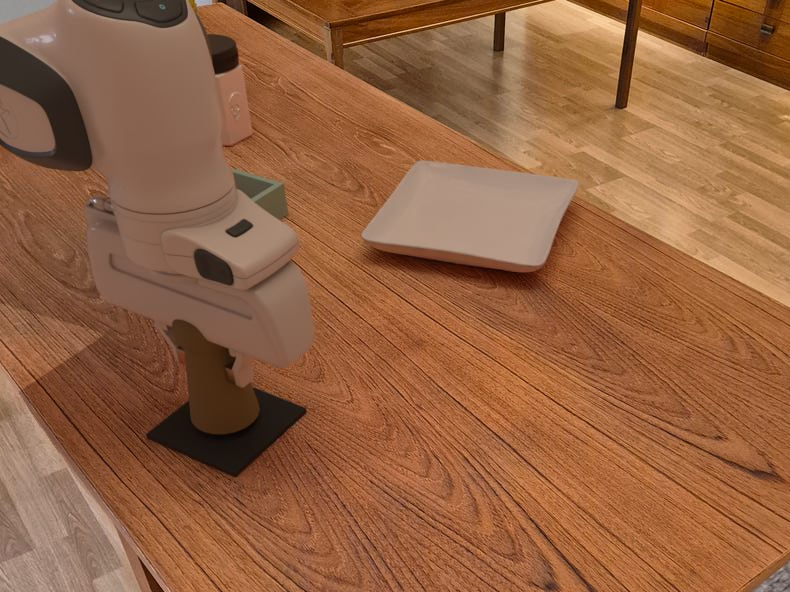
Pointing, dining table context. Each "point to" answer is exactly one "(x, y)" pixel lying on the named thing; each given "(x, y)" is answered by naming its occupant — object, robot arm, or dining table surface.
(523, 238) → the plate
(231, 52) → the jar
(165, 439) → the mat
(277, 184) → the square frame
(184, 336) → the brown pawn
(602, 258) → the dining table surface
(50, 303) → the dining table surface
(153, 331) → the dining table surface
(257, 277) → the robot arm
